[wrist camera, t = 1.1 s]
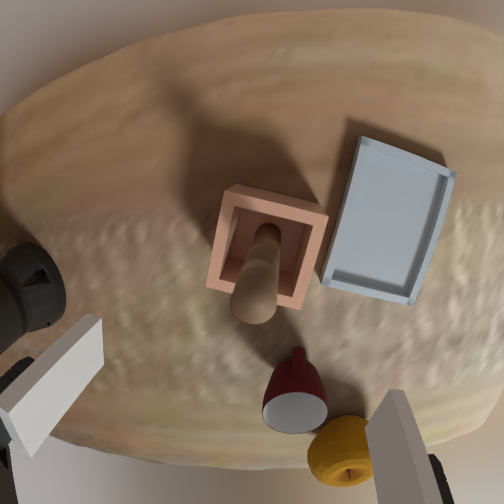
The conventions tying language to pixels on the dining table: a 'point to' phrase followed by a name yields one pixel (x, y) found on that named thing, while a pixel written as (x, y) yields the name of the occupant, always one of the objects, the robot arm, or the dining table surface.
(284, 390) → the mug
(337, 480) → the apple
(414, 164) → the tray
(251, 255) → the dowel
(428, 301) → the dining table surface
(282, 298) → the pink open square box
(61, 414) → the robot arm
